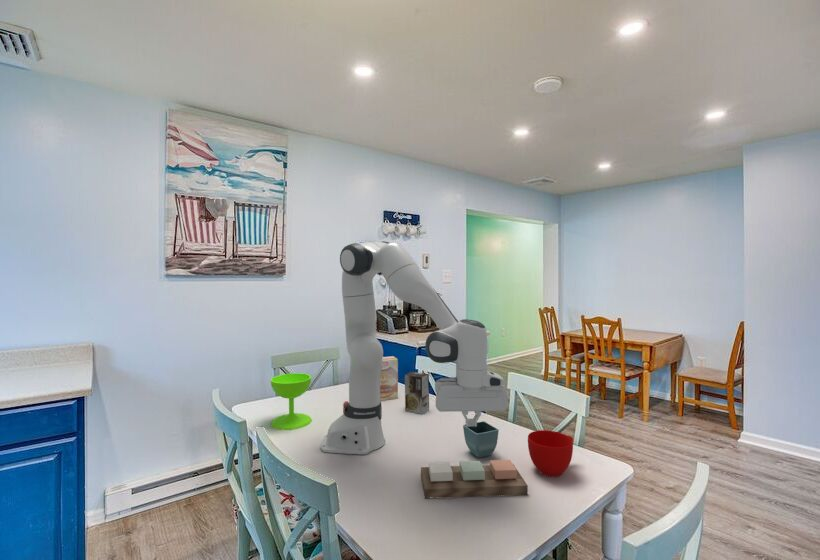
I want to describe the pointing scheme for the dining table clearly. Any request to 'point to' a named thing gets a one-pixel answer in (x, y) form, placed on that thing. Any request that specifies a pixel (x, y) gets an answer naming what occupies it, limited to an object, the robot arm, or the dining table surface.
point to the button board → (472, 485)
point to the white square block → (440, 472)
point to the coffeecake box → (389, 379)
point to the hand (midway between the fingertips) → (471, 425)
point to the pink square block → (503, 469)
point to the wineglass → (291, 399)
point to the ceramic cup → (550, 451)
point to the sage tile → (471, 470)
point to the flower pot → (481, 439)
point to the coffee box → (417, 392)
